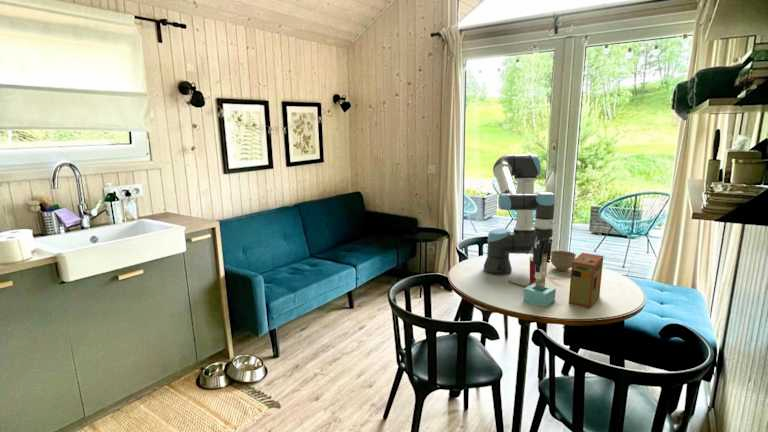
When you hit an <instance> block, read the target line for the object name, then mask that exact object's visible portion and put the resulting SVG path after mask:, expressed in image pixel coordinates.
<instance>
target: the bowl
mask: <svg viewBox="0 0 768 432" xmlns="http://www.w3.org/2000/svg"><path fill="white" fill-rule="evenodd" d="M576 256H577V254H576V253H574V252H571V251H567V250H551V257H550V263H551V264H552V265H553V266H554V268H556V270H557V271H563V272H565V271H568V270H569V269H571V268H572V261H573V260H575V259H576Z"/></svg>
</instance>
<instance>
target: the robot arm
mask: <svg viewBox="0 0 768 432" xmlns="http://www.w3.org/2000/svg"><path fill="white" fill-rule="evenodd" d="M492 172H493V176H494V177H495V178H496V180H497V184H498V187H499V191H500V194H499V195H498V196H497V197H498V198H497V199H498V200H497V201H498V202H497V203H498V205H497V206H498V209H500V210H503V211H516V226H515V227H514V228H513V232H512V231H511V229H508V228H497V229H493V230H490V231H489V233H488V234H487V235H488V236H487V252H486V253H487V255H486V256H487V257H486V259H485V262H484V264H483V272H485V273H487V274H490V275H492V276H506V275H510V274H511V273H513V272H512V270H513V268H512V264H511V261H510V254H520V255H521V254H526V255H529V254H531V255H533V264H535V265H536V268H535V278H537V279H540V280H541V277H542V265H541V263H542V257H543V252H544V253H547V261H546V276H545V278H546V277H548V276H547V271H548V264H550V263H551V252H552V245H553V240H554V239H552V237H553V235H554V234H553V233H554V229H553V227H554V223H555V221H554V218H555V217H554V216H555V203H556V195H555V194H554V193H553V192H549V191H548V192H547V191H540V192H535V187H534V186H535V182H536V181H537V179H538V177H539V176H540V175H541V173H542V167H541V161H540V157H539V156H538V155H537V154H533V153H522V154H521V153H520V154H519V153H518V154H517V153H516V154H515V153H514V154H509V153H508V154H504V155H503V156H501V157H499V158H498V159H497V160H496V161H495V162H494V164H493V167H492ZM513 177H514V178H513ZM515 181H516V183H517V184H515ZM516 185H517V186H516ZM534 211H535V216H534ZM534 217H535V218H534ZM534 219H535V221H534Z"/></svg>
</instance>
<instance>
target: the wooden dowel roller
mask: <svg viewBox="0 0 768 432" xmlns="http://www.w3.org/2000/svg"><path fill="white" fill-rule="evenodd" d="M546 261H547V253H544V252H543V257H542V263H541V265H542V277H541V280H540V279H537V278H536V286H535V287H537V288H545V286H546V277H547V276H546ZM545 276H546V277H545Z"/></svg>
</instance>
